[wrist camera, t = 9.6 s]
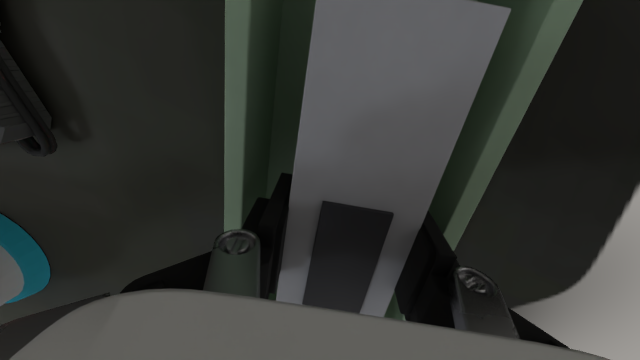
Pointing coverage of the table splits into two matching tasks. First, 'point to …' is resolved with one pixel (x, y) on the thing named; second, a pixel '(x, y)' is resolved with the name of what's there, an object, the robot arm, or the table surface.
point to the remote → (377, 140)
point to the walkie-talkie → (22, 111)
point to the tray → (288, 88)
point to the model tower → (20, 263)
